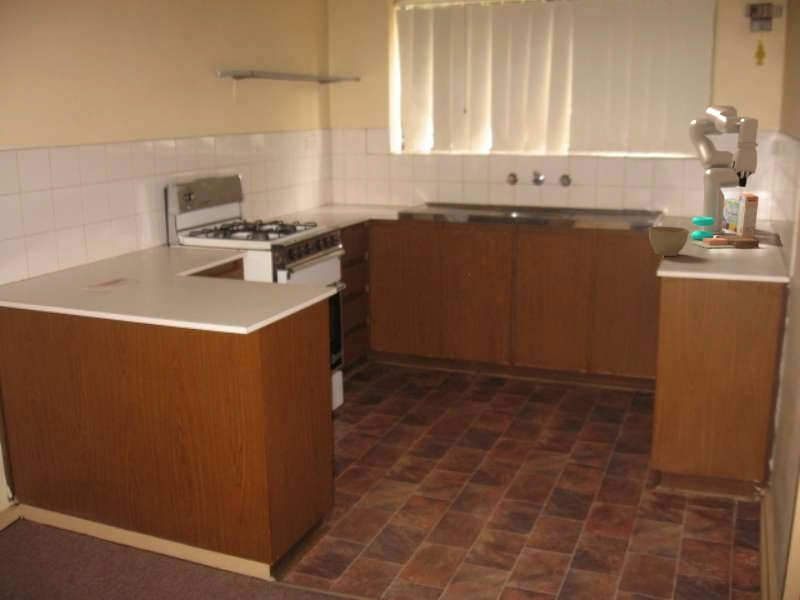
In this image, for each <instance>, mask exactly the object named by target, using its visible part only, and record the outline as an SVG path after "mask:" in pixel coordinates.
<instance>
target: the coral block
mask: <svg viewBox="0 0 800 600" xmlns="http://www.w3.org/2000/svg"><path fill="white" fill-rule="evenodd" d="M702 241H703V243H704V244H707V245H728V241H729V240H727V239H724V238H716V237H713V238H703V240H702Z"/></svg>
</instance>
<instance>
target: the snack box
mask: <svg viewBox="0 0 800 600" xmlns="http://www.w3.org/2000/svg"><path fill="white" fill-rule="evenodd" d="M739 201H740V199H734V198H725V199H724V212H723V223H722V227H723V228H722V229H725V228H726V229H725V230H728V229H729V230H728V231H730V230H732V232H733V231H735V232H734V233H736V232H737V222H738V212H739Z"/></svg>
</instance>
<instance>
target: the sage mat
mask: <svg viewBox="0 0 800 600" xmlns="http://www.w3.org/2000/svg"><path fill="white" fill-rule="evenodd" d="M691 243H692V244H691ZM689 244H691V245H694V244H695V245H694V246H697V245H698V247H700V246H701V248H703V247H704V249H706V248H707V250H708V249H711V250H712V248H716V249H736V248H735V247H734V246H731V245H707V244H704V243H703V240H700V241H689Z"/></svg>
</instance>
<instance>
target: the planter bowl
mask: <svg viewBox="0 0 800 600" xmlns="http://www.w3.org/2000/svg"><path fill="white" fill-rule="evenodd" d="M689 233H690V230H689V229H688V228H683V227H675V226H650V227H648V239H649V242H650V244H651V247H652V248H653V250H654V254H655V255H658V256H664V257H665V256H666V257H674V256H675V257H676V256H678V255H680V252H681V251H682V249H684V246H685V245H686V243H687V241H688V238H689V237H688V236H689Z"/></svg>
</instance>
